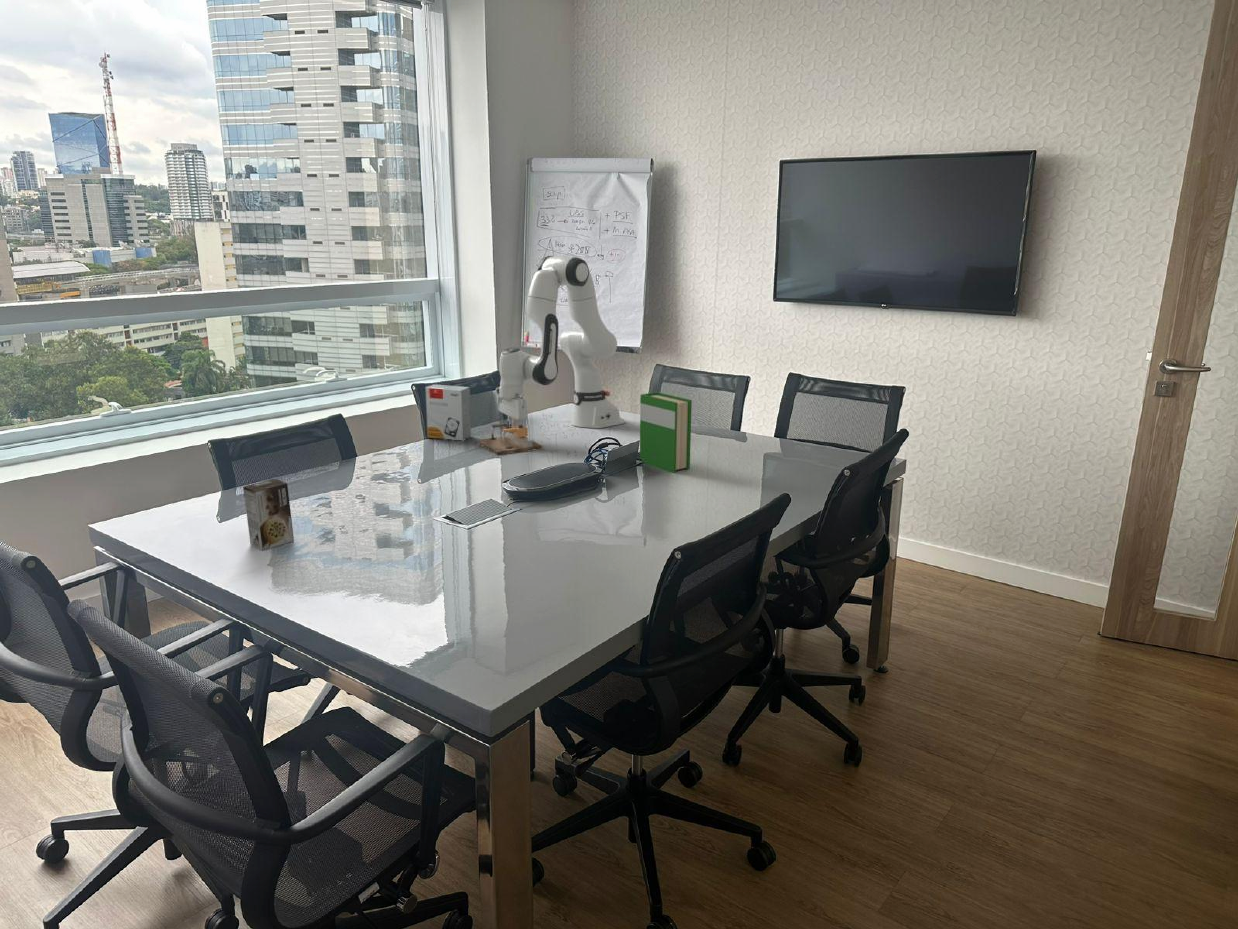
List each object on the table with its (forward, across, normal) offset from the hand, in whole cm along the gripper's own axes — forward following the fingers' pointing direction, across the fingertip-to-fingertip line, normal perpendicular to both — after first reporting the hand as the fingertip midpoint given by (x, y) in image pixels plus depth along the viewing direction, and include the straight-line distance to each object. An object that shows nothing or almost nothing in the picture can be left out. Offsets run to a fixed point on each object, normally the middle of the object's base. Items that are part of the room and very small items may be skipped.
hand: (513, 427), depth 328 cm
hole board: (+6, -5, +4) cm, 8 cm away
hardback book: (+6, -56, -32) cm, 65 cm away
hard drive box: (+6, +18, +19) cm, 27 cm away
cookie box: (+6, -68, +98) cm, 119 cm away
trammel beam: (+4, -5, +3) cm, 7 cm away
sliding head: (+4, -7, +3) cm, 8 cm away
